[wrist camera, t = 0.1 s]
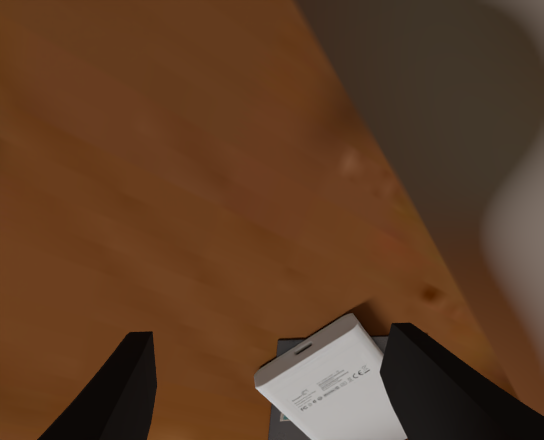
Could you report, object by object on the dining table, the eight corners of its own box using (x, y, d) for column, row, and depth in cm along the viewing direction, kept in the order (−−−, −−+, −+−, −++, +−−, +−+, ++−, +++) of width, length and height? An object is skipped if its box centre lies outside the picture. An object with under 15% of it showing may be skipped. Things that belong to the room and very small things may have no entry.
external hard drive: (338, 452, 29) (253, 372, 24) (423, 404, 28) (351, 310, 23) (345, 473, 27) (255, 391, 22) (434, 423, 26) (360, 326, 21)
